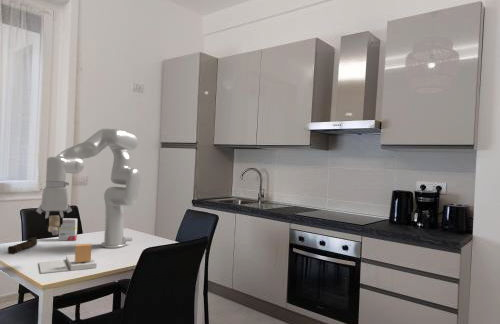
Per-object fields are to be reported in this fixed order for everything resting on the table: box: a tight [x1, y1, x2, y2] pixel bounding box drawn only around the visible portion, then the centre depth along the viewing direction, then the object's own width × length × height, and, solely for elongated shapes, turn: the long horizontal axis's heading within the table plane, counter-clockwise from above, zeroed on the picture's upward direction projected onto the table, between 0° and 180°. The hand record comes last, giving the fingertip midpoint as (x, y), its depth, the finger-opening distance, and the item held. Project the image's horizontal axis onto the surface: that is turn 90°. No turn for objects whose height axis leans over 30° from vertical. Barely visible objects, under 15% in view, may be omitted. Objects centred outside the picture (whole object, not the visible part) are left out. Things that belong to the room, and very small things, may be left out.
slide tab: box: [74, 243, 92, 263], centre depth 164 cm, size 6×3×7 cm, turn 122°
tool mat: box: [38, 259, 69, 275], centre depth 161 cm, size 10×16×1 cm, turn 32°
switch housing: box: [65, 254, 97, 271], centre depth 168 cm, size 10×18×2 cm, turn 32°
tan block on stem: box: [47, 215, 60, 236], centre depth 162 cm, size 4×14×6 cm, turn 31°
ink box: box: [58, 217, 78, 242], centre depth 211 cm, size 9×5×12 cm, turn 101°
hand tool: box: [7, 236, 38, 255], centre depth 188 cm, size 19×4×5 cm, turn 174°
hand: (53, 226), depth 165 cm, fingers closed on tan block on stem, 4 cm apart
